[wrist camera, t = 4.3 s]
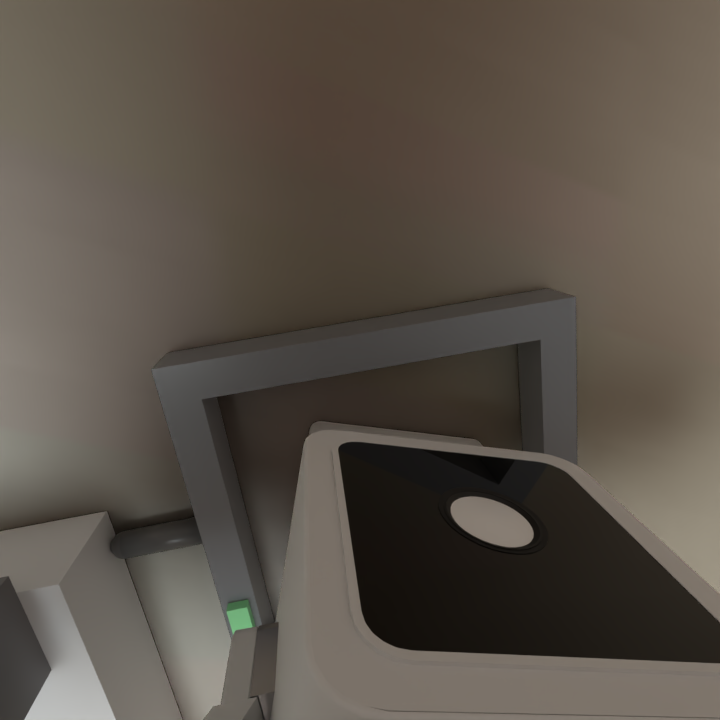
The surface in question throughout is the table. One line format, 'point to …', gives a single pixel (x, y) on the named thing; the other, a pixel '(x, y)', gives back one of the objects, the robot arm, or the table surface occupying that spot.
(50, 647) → the power strip
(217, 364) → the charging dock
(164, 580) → the table surface
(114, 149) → the table surface
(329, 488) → the security camera
